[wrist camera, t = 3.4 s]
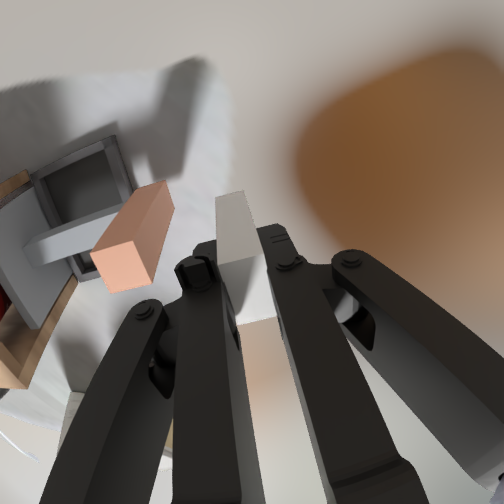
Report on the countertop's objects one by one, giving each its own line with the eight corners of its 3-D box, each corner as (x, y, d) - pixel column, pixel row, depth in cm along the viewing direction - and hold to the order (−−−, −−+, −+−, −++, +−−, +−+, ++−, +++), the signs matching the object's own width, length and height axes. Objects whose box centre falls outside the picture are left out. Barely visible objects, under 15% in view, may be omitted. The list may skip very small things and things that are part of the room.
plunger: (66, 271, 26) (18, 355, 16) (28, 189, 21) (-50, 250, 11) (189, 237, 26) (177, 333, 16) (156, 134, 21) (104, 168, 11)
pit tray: (83, 276, 27) (79, 282, 26) (36, 171, 21) (30, 174, 20) (158, 255, 27) (156, 262, 26) (114, 134, 21) (109, 136, 20)
